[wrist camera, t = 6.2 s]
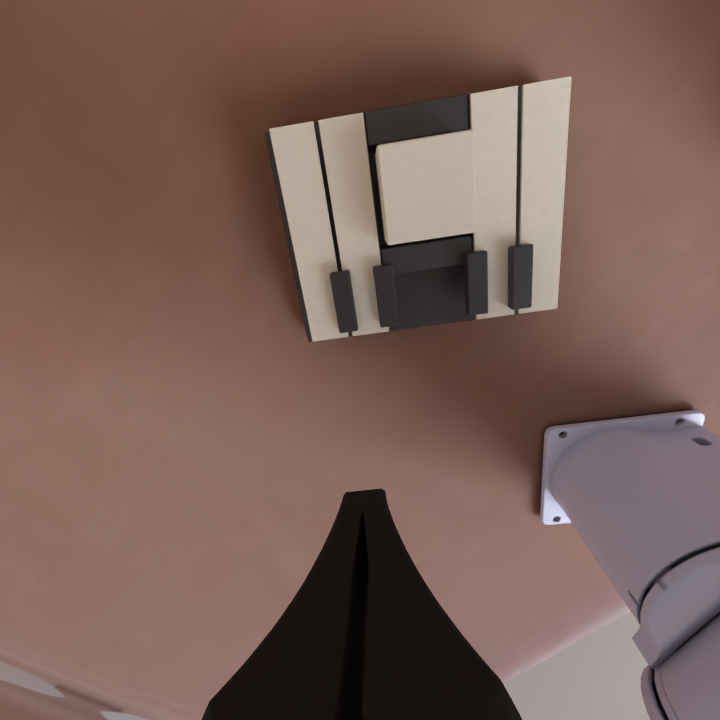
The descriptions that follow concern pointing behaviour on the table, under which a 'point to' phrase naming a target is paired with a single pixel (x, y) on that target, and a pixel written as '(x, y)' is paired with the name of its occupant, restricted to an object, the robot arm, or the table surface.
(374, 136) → the toy piano
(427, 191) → the square cream block
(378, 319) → the piano keys trim
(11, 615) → the table surface
